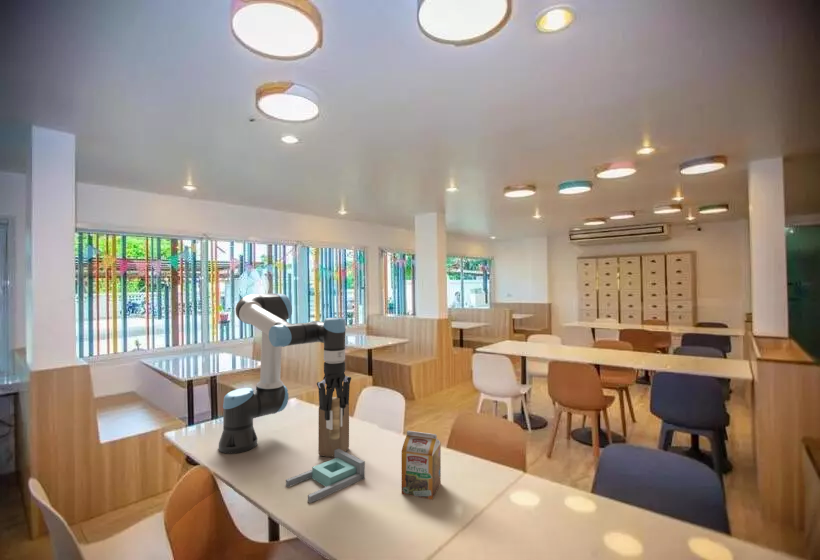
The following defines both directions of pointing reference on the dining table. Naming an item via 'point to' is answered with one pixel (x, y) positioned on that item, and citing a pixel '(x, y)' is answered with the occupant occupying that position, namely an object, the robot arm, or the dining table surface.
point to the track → (338, 485)
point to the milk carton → (421, 465)
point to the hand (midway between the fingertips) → (334, 427)
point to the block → (326, 444)
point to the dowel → (335, 419)
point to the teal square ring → (332, 471)
